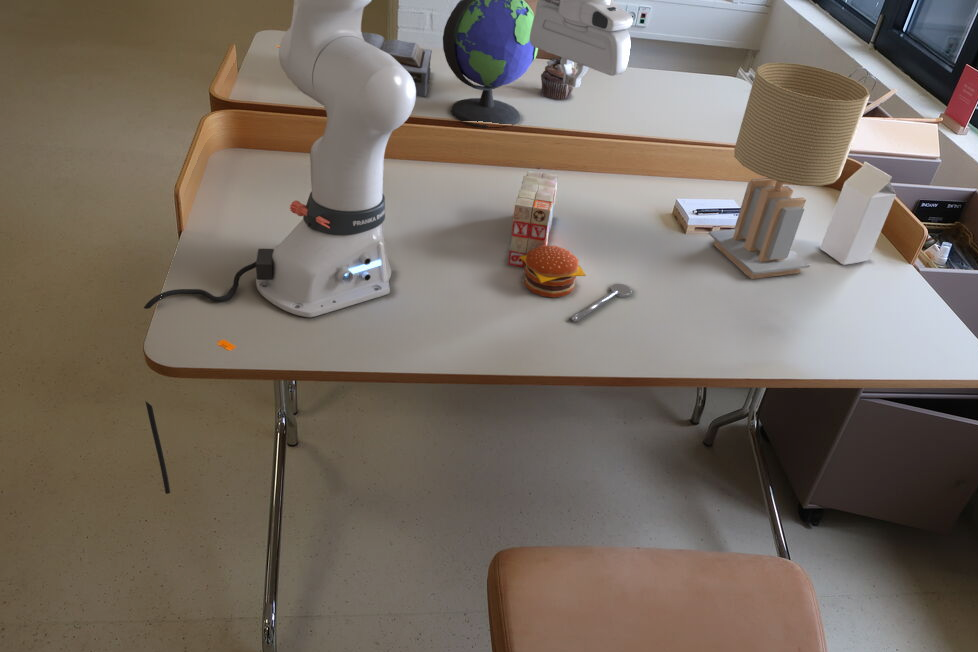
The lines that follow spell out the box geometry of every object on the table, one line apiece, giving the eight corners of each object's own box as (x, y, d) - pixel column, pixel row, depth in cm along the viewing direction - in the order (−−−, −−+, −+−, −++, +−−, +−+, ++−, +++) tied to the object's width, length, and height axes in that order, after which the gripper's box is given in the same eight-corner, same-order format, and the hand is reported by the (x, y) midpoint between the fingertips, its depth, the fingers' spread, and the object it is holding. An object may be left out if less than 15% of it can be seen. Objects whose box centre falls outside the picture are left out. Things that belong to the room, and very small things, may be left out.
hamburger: (557, 266, 151) (563, 234, 147) (584, 294, 144) (590, 261, 140) (512, 274, 146) (516, 241, 142) (537, 303, 140) (543, 269, 136)
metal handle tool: (581, 327, 136) (582, 322, 135) (563, 317, 137) (564, 312, 137) (634, 292, 147) (635, 287, 146) (618, 284, 148) (619, 279, 148)
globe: (511, 139, 197) (526, 7, 179) (426, 117, 201) (432, -14, 183) (541, 111, 214) (557, -12, 196) (462, 92, 218) (471, -30, 200)
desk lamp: (688, 238, 166) (734, 62, 145) (766, 231, 174) (821, 62, 153) (742, 289, 152) (802, 103, 132) (825, 279, 160) (894, 100, 139)
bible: (348, 58, 228) (347, 21, 222) (443, 75, 227) (445, 38, 221) (317, 84, 209) (316, 44, 203) (421, 102, 208) (422, 63, 202)
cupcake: (579, 96, 228) (585, 59, 222) (561, 104, 221) (567, 66, 215) (550, 86, 231) (555, 49, 225) (532, 93, 224) (536, 56, 218)
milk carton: (843, 266, 165) (878, 178, 154) (819, 248, 170) (851, 162, 159) (868, 261, 168) (904, 175, 157) (844, 244, 173) (877, 159, 162)
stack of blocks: (522, 213, 166) (529, 155, 159) (552, 218, 166) (561, 161, 159) (507, 265, 149) (514, 203, 141) (541, 270, 149) (550, 209, 141)
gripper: (528, -7, 148) (518, 70, 156) (620, 24, 139) (605, 105, 147) (549, -10, 152) (538, 66, 160) (640, 20, 143) (624, 99, 151)
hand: (571, 85), depth 154 cm, fingers closed
